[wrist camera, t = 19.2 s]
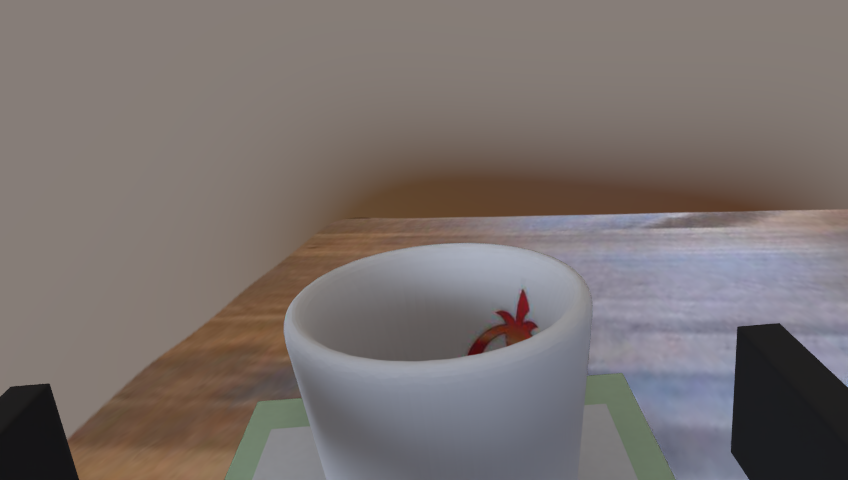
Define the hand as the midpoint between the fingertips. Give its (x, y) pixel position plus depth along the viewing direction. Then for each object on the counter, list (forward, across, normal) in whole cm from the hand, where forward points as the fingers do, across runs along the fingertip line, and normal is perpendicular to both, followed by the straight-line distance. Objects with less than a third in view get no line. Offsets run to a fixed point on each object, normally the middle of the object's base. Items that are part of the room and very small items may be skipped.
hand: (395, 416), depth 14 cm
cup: (+6, 0, -8) cm, 10 cm away
